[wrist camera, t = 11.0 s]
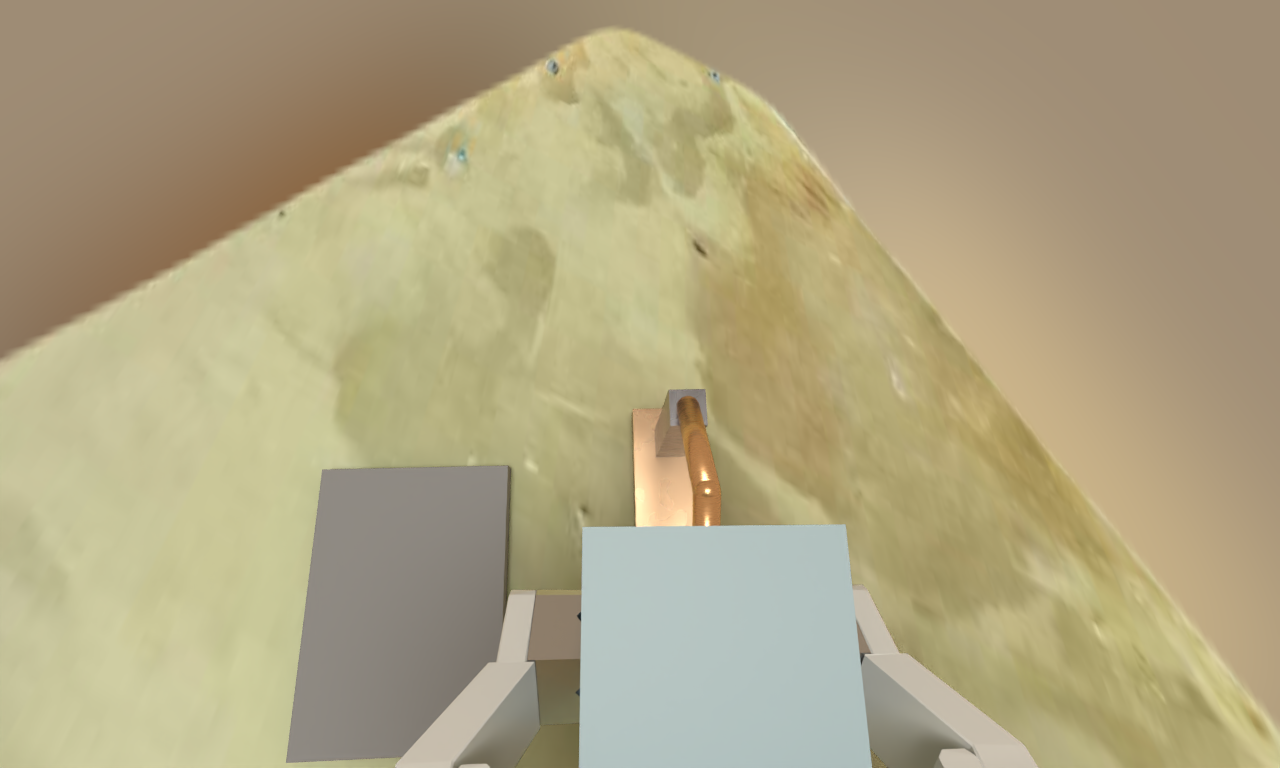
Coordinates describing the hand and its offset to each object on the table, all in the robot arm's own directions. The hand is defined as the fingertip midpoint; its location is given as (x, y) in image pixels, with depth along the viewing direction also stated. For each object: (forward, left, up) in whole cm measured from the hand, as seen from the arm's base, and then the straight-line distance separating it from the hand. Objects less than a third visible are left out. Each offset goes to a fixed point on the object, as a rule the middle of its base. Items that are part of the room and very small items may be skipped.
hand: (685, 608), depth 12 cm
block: (-1, 0, -4) cm, 4 cm away
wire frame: (-1, -2, -21) cm, 21 cm away
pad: (-1, +12, -21) cm, 25 cm away
